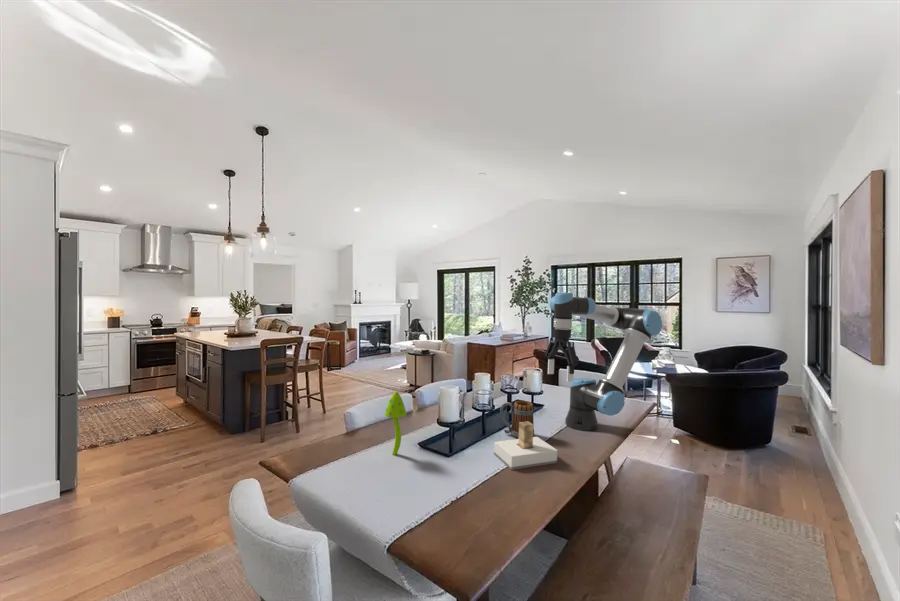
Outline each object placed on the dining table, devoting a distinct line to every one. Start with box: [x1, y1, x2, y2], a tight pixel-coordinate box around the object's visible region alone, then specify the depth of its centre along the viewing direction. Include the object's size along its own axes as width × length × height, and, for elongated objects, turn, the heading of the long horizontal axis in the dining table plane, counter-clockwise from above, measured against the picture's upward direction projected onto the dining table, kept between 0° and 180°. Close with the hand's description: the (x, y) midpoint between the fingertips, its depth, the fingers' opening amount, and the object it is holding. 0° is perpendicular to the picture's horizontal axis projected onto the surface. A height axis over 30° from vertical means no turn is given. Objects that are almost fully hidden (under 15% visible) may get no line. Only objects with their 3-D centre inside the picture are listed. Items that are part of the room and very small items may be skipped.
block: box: [493, 436, 558, 471], centre depth 160 cm, size 20×14×5 cm
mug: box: [499, 400, 535, 439], centre depth 183 cm, size 16×11×15 cm
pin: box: [518, 421, 533, 449], centre depth 159 cm, size 4×4×13 cm
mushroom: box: [384, 391, 407, 456], centre depth 159 cm, size 8×8×25 cm
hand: (559, 377), depth 175 cm, fingers open, 13 cm apart
